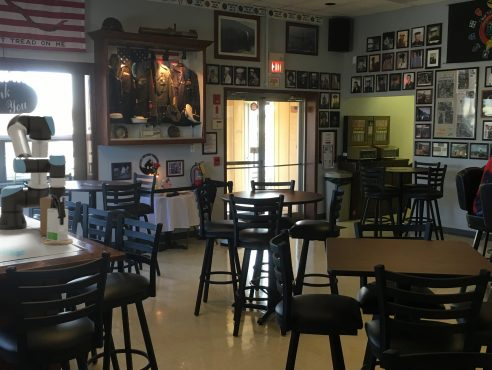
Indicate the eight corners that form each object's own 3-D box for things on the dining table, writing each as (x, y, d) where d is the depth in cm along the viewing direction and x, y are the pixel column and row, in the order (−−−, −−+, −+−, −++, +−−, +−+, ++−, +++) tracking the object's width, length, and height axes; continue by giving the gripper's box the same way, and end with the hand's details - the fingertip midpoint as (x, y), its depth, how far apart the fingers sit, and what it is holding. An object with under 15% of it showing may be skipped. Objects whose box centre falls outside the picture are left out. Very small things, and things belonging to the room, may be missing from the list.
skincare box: (46, 240, 273) (46, 208, 272) (56, 238, 279) (56, 207, 278) (58, 242, 270) (58, 210, 268) (68, 240, 275) (68, 208, 274)
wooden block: (66, 233, 298) (66, 196, 296) (58, 237, 288) (57, 198, 287) (48, 232, 299) (47, 195, 297) (39, 236, 289) (39, 198, 287)
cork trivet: (39, 241, 277) (39, 238, 277) (68, 238, 284) (68, 236, 284) (46, 246, 265) (46, 243, 265) (76, 243, 273) (76, 241, 272)
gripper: (43, 184, 281) (43, 226, 282) (56, 189, 260) (56, 234, 262) (58, 184, 285) (58, 225, 286) (72, 188, 264) (72, 232, 266)
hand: (57, 229), depth 274 cm, fingers open, 13 cm apart
